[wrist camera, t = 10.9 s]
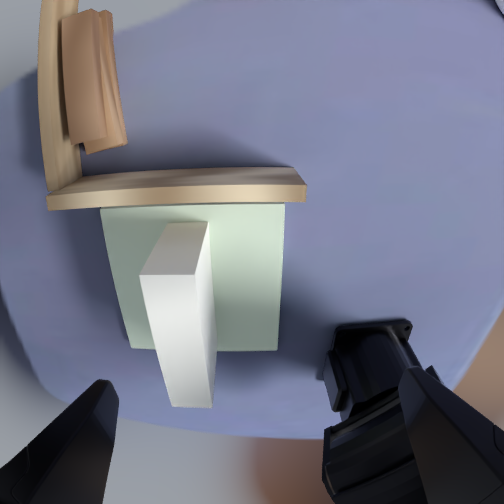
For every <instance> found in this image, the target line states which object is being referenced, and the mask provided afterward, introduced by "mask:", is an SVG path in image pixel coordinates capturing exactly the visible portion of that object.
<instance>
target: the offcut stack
mask: <svg viewBox="0 0 504 504" xmlns="http://www.w3.org/2000/svg"><path fill="white" fill-rule="evenodd" d="M113 33H114V30H113V17H112V13H110V12H109V11H107V10H104V11H101V12H97V11H95V10H93V9H89V10H86V11H83V12H80V13H77V14H75V15H72V16H69V17H67V18H64V19H62V61H63V78H64V91H65V102H66V111H67V120H68V128H69V135H70V142H71V145H74V144H78V143H82V142H84V146H85V150H86V154H87V155H88V154H91V153H95V152H99V151H103V150H107V149H111V148H115V147H119V146H123V145H126V144H128V142H127V136H126V131H125V125H124V119H123V113H122V107H121V100H120V93H119V86H118V79H117V71H116V63H115V54H114V45H113V35H112V34H113Z"/></svg>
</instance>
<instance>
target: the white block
mask: <svg viewBox="0 0 504 504" xmlns="http://www.w3.org/2000/svg"><path fill="white" fill-rule="evenodd" d="M139 277H140V282H141V287H142V292H143V296H144V301H145V306H146V310H147V315H148V319H149V323H150V328H151V332H152V336H153V340H154V344H155V348H156V352H157V355H158V359H159V363H160V367H161V370H162V374H163V377H164V381H165V384H166V388H167V391H168V395H169V398H170V401H171V404H172V406H173V407H192V408H213V395H214V382H215V369H216V357H217V345H218V339H217V328H216V317H215V305H214V293H213V280H212V267H211V253H210V238H209V222H181V223H167V225H166V227H165V229H164V230H163V232H162V234H161V236H160V238H159V239H158V241H157V243H156V245H155V246H154V248H153V250H152V252H151V254H150V256H149V257H148V259H147V261H146V263H145V265H144V267H143V269H142V270H141V272H140V274H139Z"/></svg>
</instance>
